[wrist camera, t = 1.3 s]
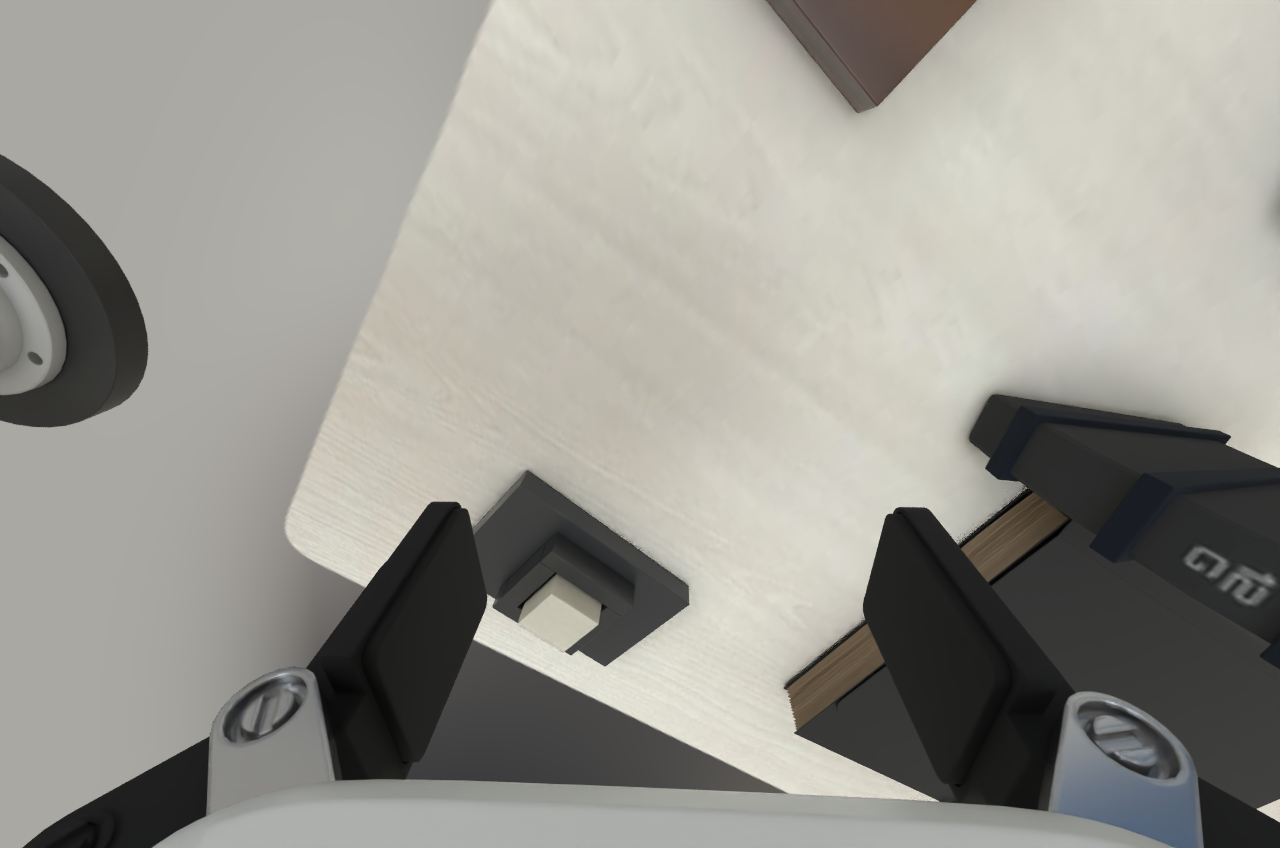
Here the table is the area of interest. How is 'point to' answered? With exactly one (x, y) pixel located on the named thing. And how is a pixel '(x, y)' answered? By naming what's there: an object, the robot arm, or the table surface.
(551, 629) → the key
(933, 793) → the file folder
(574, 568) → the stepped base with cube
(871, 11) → the brown switch frame
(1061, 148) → the table surface
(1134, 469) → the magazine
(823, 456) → the table surface
